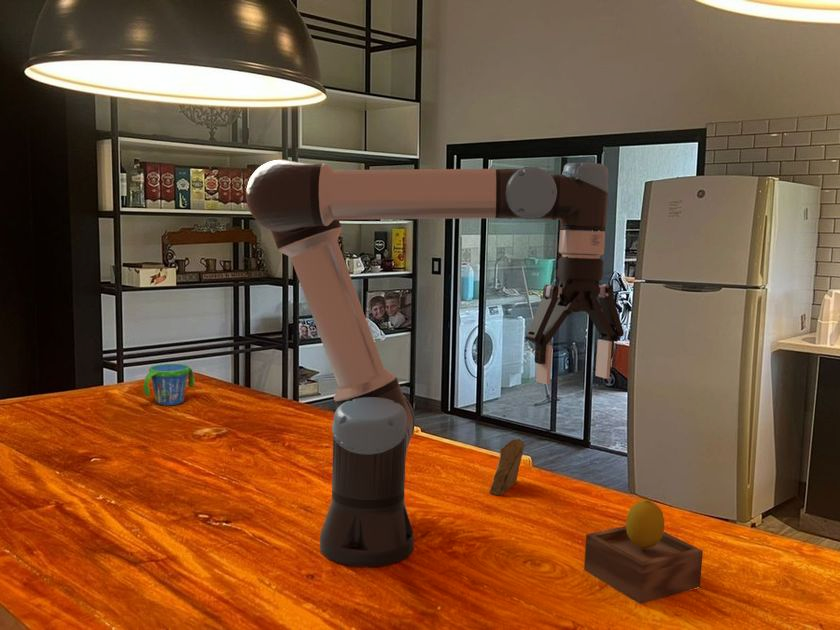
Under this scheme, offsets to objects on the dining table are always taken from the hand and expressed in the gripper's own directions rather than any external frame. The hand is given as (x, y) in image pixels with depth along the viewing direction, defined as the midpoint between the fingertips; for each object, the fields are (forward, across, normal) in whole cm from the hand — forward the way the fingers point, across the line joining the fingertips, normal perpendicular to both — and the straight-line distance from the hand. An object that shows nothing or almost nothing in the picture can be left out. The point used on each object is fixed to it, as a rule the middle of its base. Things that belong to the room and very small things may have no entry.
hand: (573, 380), depth 136 cm
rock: (+27, +3, +22) cm, 35 cm away
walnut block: (+27, -3, -21) cm, 34 cm away
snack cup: (+27, -39, +119) cm, 128 cm away
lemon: (+22, -3, -21) cm, 30 cm away
